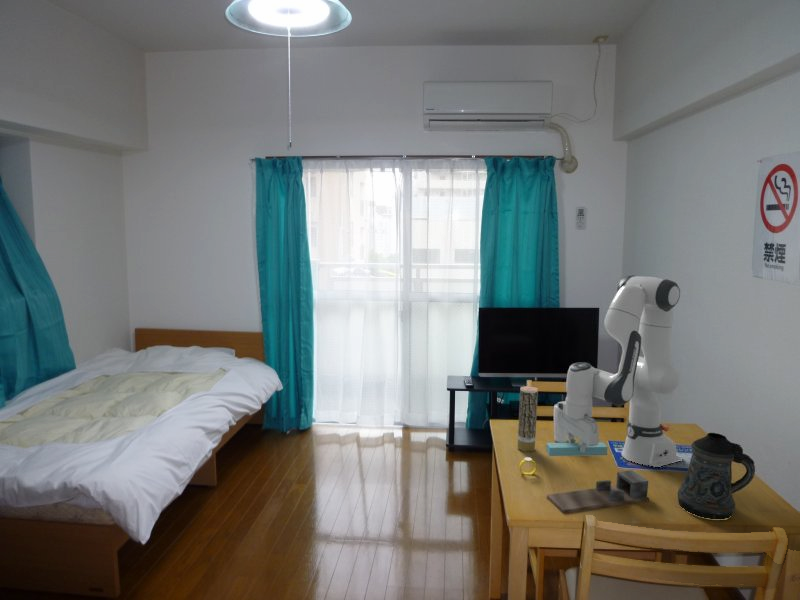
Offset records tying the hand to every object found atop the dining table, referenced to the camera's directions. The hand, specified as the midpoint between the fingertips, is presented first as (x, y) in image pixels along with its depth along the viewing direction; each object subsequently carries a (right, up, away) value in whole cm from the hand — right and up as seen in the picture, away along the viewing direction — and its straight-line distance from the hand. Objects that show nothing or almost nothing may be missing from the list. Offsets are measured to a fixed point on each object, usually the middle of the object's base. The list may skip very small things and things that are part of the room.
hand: (576, 447), depth 196 cm
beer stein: (+39, -16, -14) cm, 44 cm away
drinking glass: (+5, -7, +38) cm, 39 cm away
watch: (-15, -12, +8) cm, 21 cm away
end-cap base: (+4, -15, -9) cm, 18 cm away
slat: (0, -2, 0) cm, 2 cm away
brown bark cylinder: (-11, -8, +30) cm, 33 cm away
